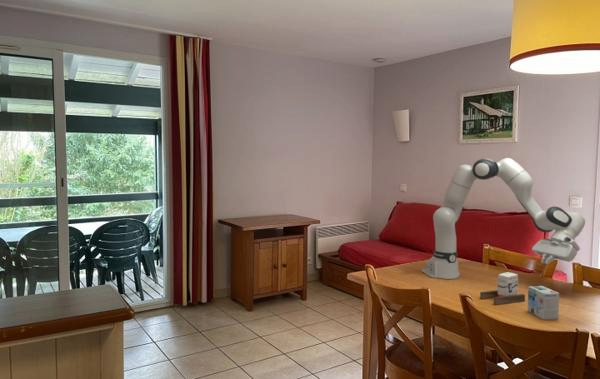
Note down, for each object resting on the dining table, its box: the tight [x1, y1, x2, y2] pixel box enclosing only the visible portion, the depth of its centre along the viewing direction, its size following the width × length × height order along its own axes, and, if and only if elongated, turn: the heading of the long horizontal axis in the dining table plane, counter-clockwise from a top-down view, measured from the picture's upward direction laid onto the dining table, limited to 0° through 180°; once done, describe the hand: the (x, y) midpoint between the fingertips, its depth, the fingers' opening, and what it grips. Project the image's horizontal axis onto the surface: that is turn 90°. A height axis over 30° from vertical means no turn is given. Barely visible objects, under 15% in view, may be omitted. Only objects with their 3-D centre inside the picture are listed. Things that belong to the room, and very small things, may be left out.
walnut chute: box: [479, 289, 526, 306], centre depth 195 cm, size 10×16×3 cm, turn 108°
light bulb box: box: [527, 285, 560, 321], centre depth 176 cm, size 11×7×11 cm, turn 5°
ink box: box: [497, 271, 519, 297], centre depth 196 cm, size 8×5×12 cm, turn 123°
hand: (544, 263), depth 202 cm, fingers closed
